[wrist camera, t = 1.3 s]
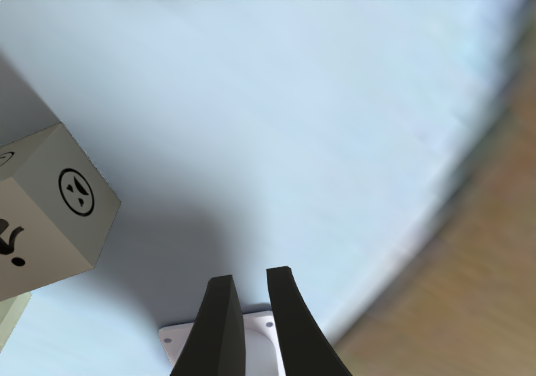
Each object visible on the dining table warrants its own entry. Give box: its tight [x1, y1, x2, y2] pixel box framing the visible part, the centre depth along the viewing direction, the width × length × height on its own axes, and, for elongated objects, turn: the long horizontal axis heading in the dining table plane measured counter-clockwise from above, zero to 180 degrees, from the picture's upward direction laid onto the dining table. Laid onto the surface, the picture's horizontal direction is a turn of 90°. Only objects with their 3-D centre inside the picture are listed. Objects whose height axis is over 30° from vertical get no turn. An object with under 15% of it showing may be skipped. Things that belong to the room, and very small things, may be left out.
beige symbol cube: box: [0, 122, 121, 302], centre depth 18 cm, size 5×5×5 cm
